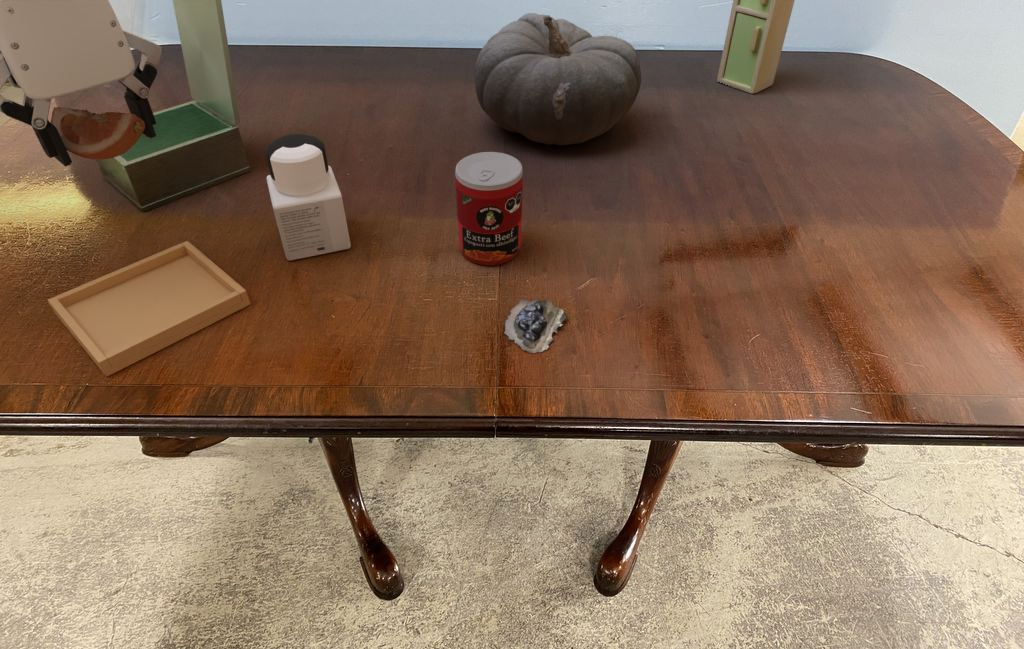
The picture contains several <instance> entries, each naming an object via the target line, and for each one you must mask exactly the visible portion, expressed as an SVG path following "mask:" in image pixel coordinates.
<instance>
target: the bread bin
mask: <svg viewBox="0 0 1024 649" xmlns="http://www.w3.org/2000/svg"><path fill="white" fill-rule="evenodd" d="M153 115H154V118H155V120H156V124H155V125H153V128H154V130H155V133H156V137H153V138H150V137H147V136H146V135H144V134H143V133H142V135H141V137H140V138H139V139H138V141H137V142H136V143H135V144H134V145H133V146H132V147H131V148H130V149H129V150H128V151H127V152H125V153H124V154H122V155H120V156H117V157H114V158H109V159H95V161H96V163H97V165H98V167H99V170H100V173H101V174H102V176H103V179H104V180H105V181H106V182H107V183H108V184H110V185H111V186H112V187H113V188H114V189H116V190H117V191H118V192H119V193H121V194H122V196H124V197H125V198H126V199H127V200H128V201H130V202H131V203H132V204H133V205H134V206H135V207H136V208H137V209H139V210H140V211H141V212H142V213H145V212H149V211H151V210H153V209H156V208H159V207H161V206H164V205H167V204H169V203H171V202H174V201H176V200H179V199H182V198H184V197H187V196H190V195H192V194H195V193H197V192H200V191H203V190H206V189H208V188H210V187H213V186H215V185H217V184H220V183H224V182H226V181H229V180H232V179H234V178H237V177H239V176H242V175H245V174H247V173H250V172H251V167H250V164H249V160H248V156H247V153H246V150H245V146H244V143H243V138H242V135H241V132H240V127H239V126H238V125H237V124H234V123H232V122H231V121H229V120H228V119H226V118H224V117H223V116H221V115H219V114H218V113H216V112H214V111H213V110H211V109H210V108H208V107H206V106H205V105H203V104H201V103H200V102H198V101H196V100H195V99H193V100H191V101H188V102H184V103H181V104H178V105H175V106H171V107H168V108H164V109H161V110H157V111H154V112H153Z"/></svg>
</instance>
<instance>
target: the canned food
mask: <svg viewBox="0 0 1024 649" xmlns="http://www.w3.org/2000/svg"><path fill="white" fill-rule="evenodd" d="M454 176H455V177H454V178H455V197H456V198H455V199H456V200H455V201H456V215H457V230H458V233H457V234H458V246H459V249H460V252H461V254H462V256H463V257H464V258H465V259H467V260H469V261H470V262H472V263H475V264H477V265H481V266H496V265H501V264H502V265H503V264H505V263H507V262H509V261H511V260H513V259H515V257H516V256H517V255H518V253H519V251H520V248H521V246H522V229H523V228H522V226H523V225H522V224H523V192H524V191H523V189H524V179H523V177H524V173H523V164H522V163H521V161H520V160H519V159H517V158H516V157H515V156H513V155H510V154H507V153H504V152H500V151H499V152H498V151H483V152H482V151H481V152H477V153H472V154H470V155H467V156H465V157H463V158H461V159H460V160H459V161H458V162H457V163H456V166H455V173H454Z"/></svg>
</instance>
